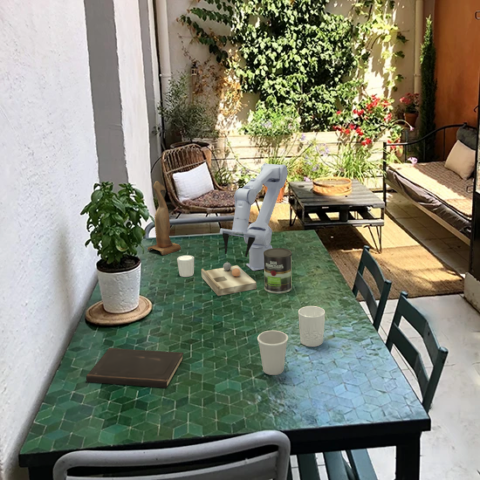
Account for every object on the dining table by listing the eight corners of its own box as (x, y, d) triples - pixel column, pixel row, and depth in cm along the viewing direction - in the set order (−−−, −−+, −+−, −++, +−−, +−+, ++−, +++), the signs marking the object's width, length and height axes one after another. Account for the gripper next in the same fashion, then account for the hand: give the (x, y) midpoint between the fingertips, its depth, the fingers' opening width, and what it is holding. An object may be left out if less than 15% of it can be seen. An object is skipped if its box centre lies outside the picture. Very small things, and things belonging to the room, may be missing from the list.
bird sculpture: (182, 250, 263) (178, 179, 254) (162, 256, 255) (158, 184, 246) (165, 245, 270) (161, 177, 261) (146, 251, 262) (141, 181, 253)
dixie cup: (279, 380, 156) (279, 347, 153) (252, 372, 160) (251, 340, 157) (293, 366, 163) (293, 334, 160) (267, 359, 167) (266, 327, 164)
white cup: (327, 337, 178) (327, 307, 175) (322, 349, 171) (322, 318, 168) (301, 334, 181) (301, 304, 178) (295, 346, 174) (295, 315, 171)
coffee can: (287, 295, 210) (286, 258, 205) (260, 291, 213) (259, 255, 209) (295, 284, 219) (295, 249, 214) (269, 281, 222) (268, 246, 218)
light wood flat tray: (237, 271, 234) (237, 263, 233) (256, 288, 216) (256, 279, 215) (201, 277, 229) (201, 269, 228) (218, 295, 211) (217, 286, 210)
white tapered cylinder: (194, 277, 230) (193, 260, 228) (177, 277, 230) (175, 261, 228) (195, 270, 236) (194, 254, 234) (179, 271, 237) (177, 255, 234)
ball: (238, 274, 224) (238, 266, 223) (241, 277, 221) (241, 269, 220) (231, 275, 223) (230, 267, 222) (233, 278, 220) (233, 270, 219)
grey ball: (229, 268, 230) (229, 260, 229) (232, 271, 228) (232, 263, 227) (222, 269, 229) (221, 262, 228) (224, 272, 227) (224, 264, 226)
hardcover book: (109, 354, 174) (109, 347, 174) (184, 359, 170) (183, 352, 169) (86, 383, 159) (85, 376, 159) (167, 389, 155) (166, 382, 154)
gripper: (222, 216, 217) (216, 252, 216) (260, 222, 217) (255, 258, 217) (222, 217, 224) (217, 252, 223) (259, 223, 224) (254, 258, 224)
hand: (235, 255), depth 221 cm, fingers open, 7 cm apart
